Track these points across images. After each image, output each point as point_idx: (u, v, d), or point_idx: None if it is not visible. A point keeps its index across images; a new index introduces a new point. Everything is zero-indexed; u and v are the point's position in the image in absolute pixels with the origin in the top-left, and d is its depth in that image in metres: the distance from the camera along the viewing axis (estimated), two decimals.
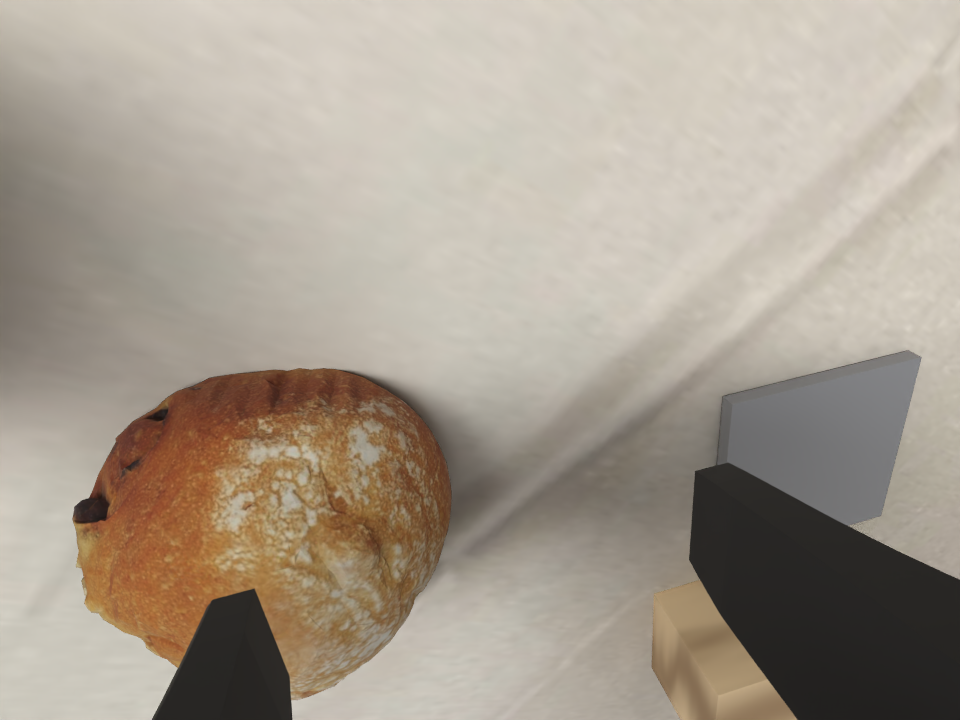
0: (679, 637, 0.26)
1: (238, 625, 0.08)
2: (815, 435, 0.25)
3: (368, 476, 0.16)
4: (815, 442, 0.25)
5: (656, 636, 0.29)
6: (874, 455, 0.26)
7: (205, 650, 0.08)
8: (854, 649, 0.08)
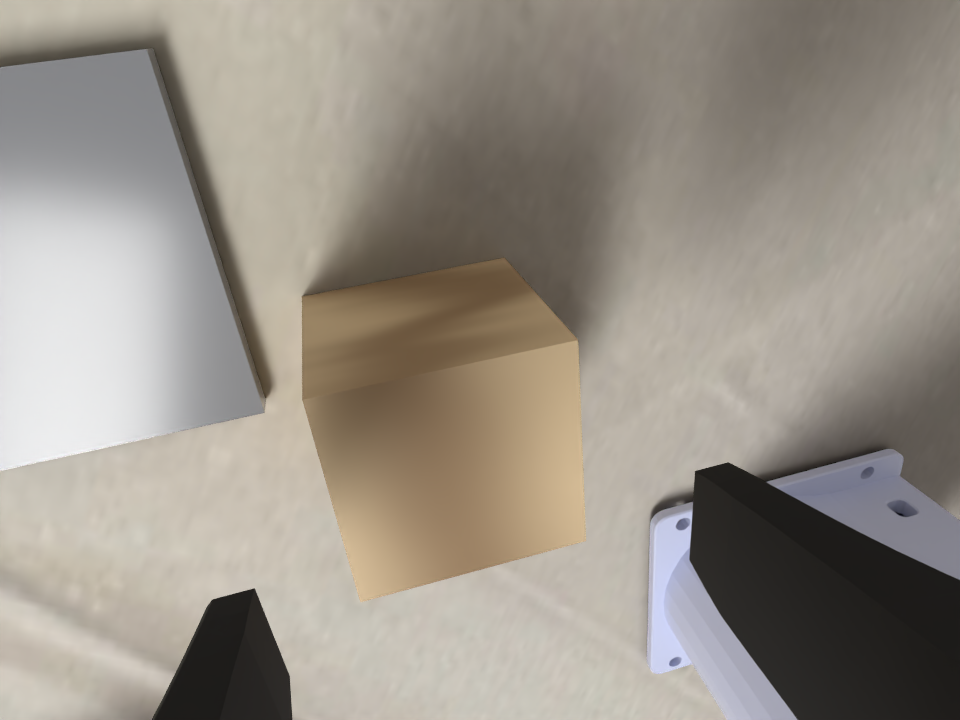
0: None
1: (238, 625, 0.08)
2: None
3: None
4: None
5: None
6: None
7: (205, 650, 0.08)
8: (854, 649, 0.08)
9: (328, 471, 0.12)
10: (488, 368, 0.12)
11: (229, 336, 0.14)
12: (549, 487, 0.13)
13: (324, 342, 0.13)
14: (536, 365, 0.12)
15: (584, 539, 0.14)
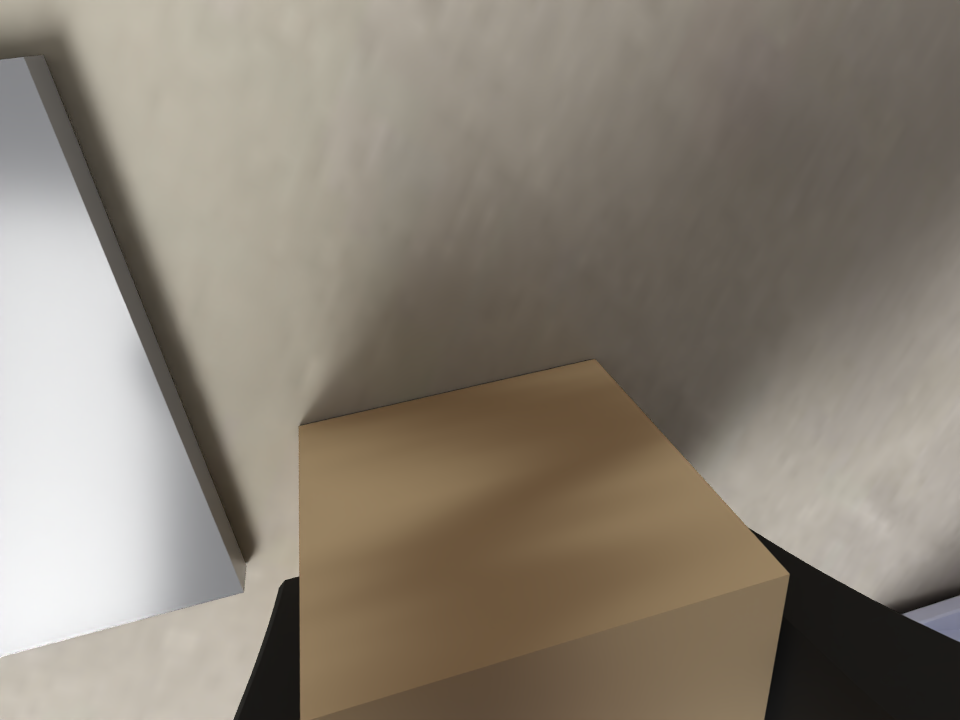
0: None
1: None
2: None
3: None
4: None
5: None
6: None
7: (288, 627, 0.08)
8: (778, 674, 0.08)
9: None
10: (637, 633, 0.06)
11: (187, 495, 0.09)
12: None
13: (337, 547, 0.08)
14: (714, 617, 0.07)
15: None
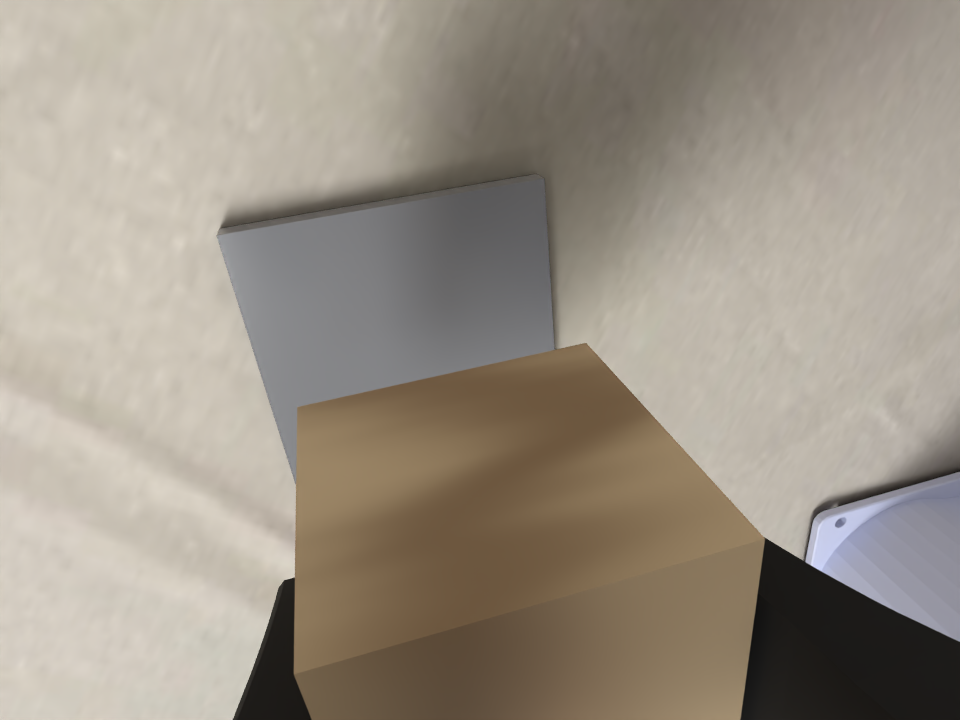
0: None
1: None
2: (358, 369, 0.17)
3: None
4: (371, 364, 0.17)
5: None
6: (408, 248, 0.16)
7: (287, 627, 0.08)
8: (779, 674, 0.08)
9: None
10: (616, 593, 0.07)
11: None
12: None
13: (332, 516, 0.08)
14: (691, 582, 0.07)
15: None
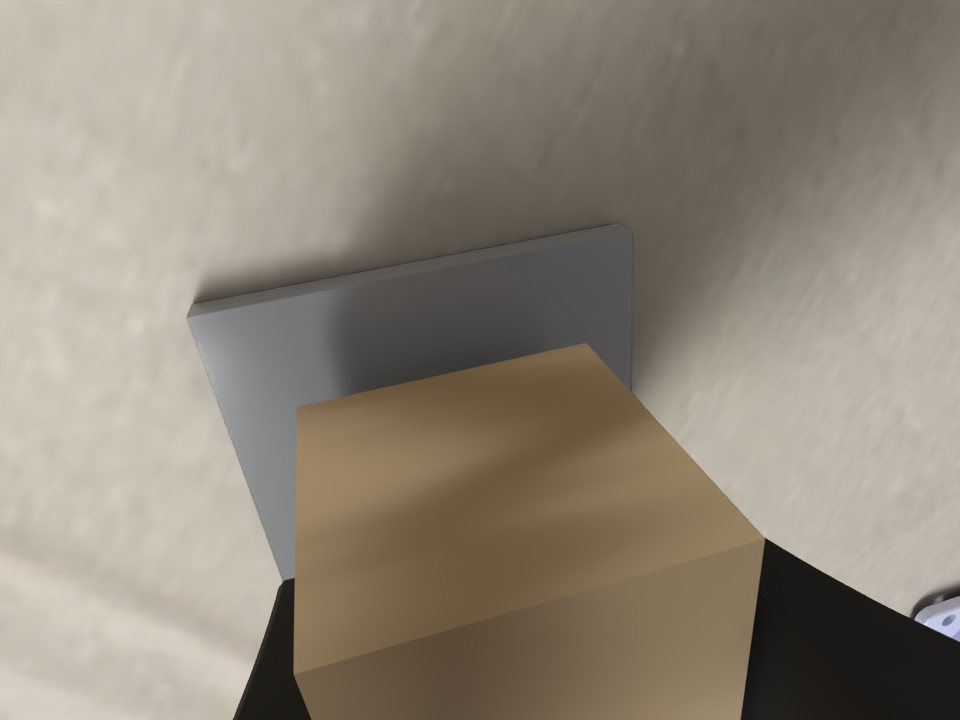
0: None
1: None
2: None
3: None
4: None
5: None
6: (448, 326, 0.12)
7: (287, 627, 0.08)
8: (779, 674, 0.08)
9: None
10: (616, 594, 0.07)
11: None
12: None
13: (331, 515, 0.08)
14: (692, 581, 0.07)
15: None
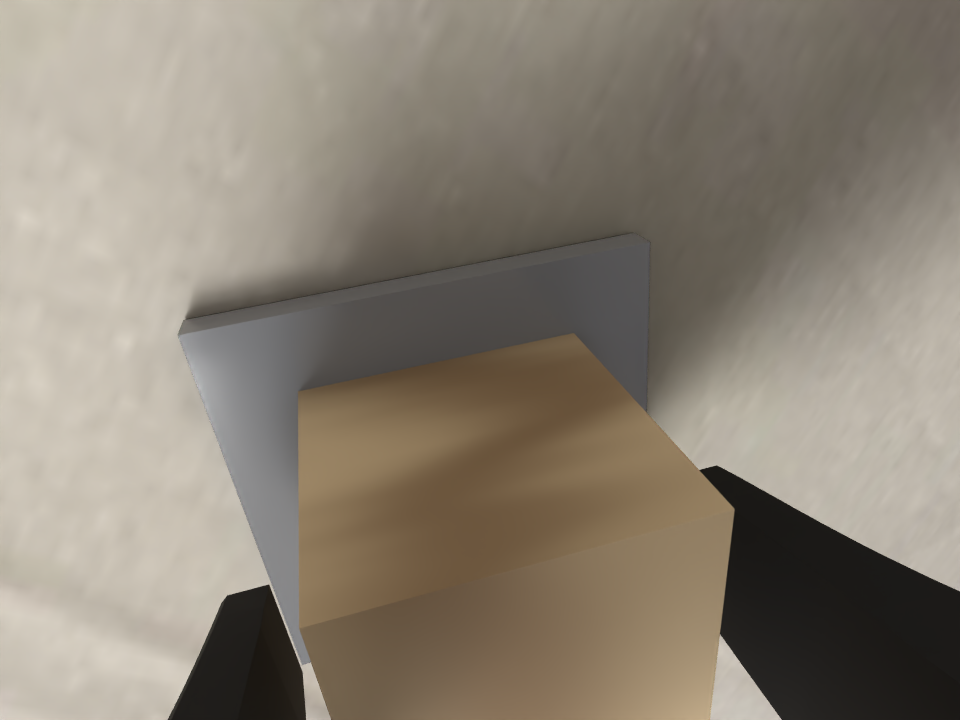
0: None
1: (254, 620, 0.08)
2: None
3: None
4: None
5: None
6: (456, 342, 0.11)
7: (222, 645, 0.08)
8: (839, 654, 0.08)
9: (339, 717, 0.07)
10: (596, 558, 0.07)
11: None
12: (665, 701, 0.09)
13: (332, 490, 0.08)
14: (667, 548, 0.07)
15: None
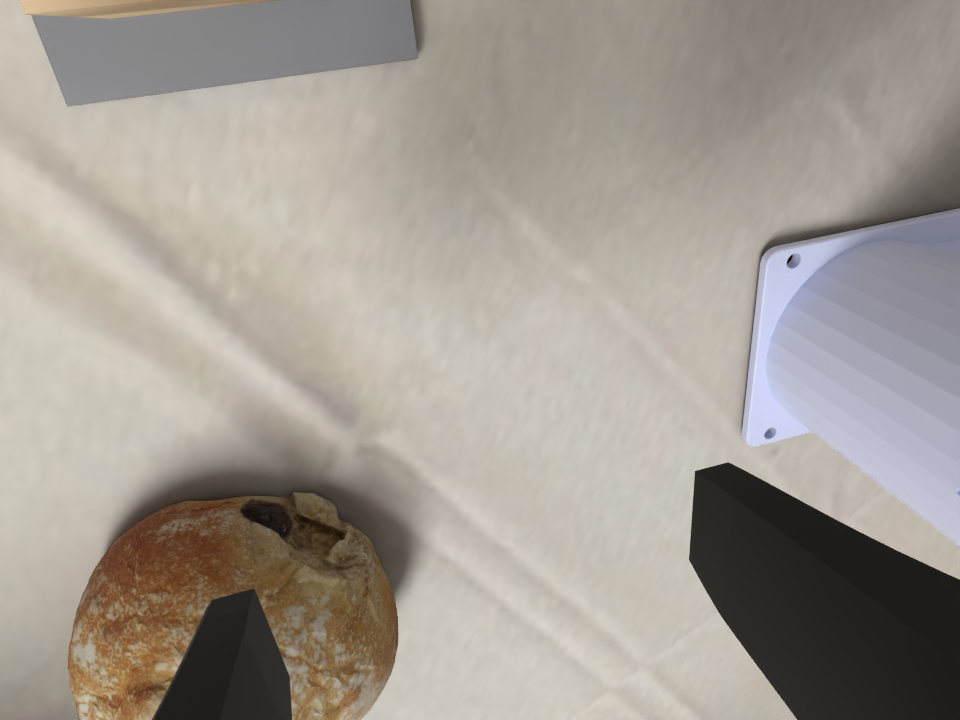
0: (91, 16, 0.12)
1: (238, 625, 0.08)
2: None
3: (101, 666, 0.17)
4: None
5: (222, 5, 0.14)
6: None
7: (205, 650, 0.08)
8: (854, 649, 0.08)
9: None
10: None
11: None
12: None
13: None
14: None
15: None
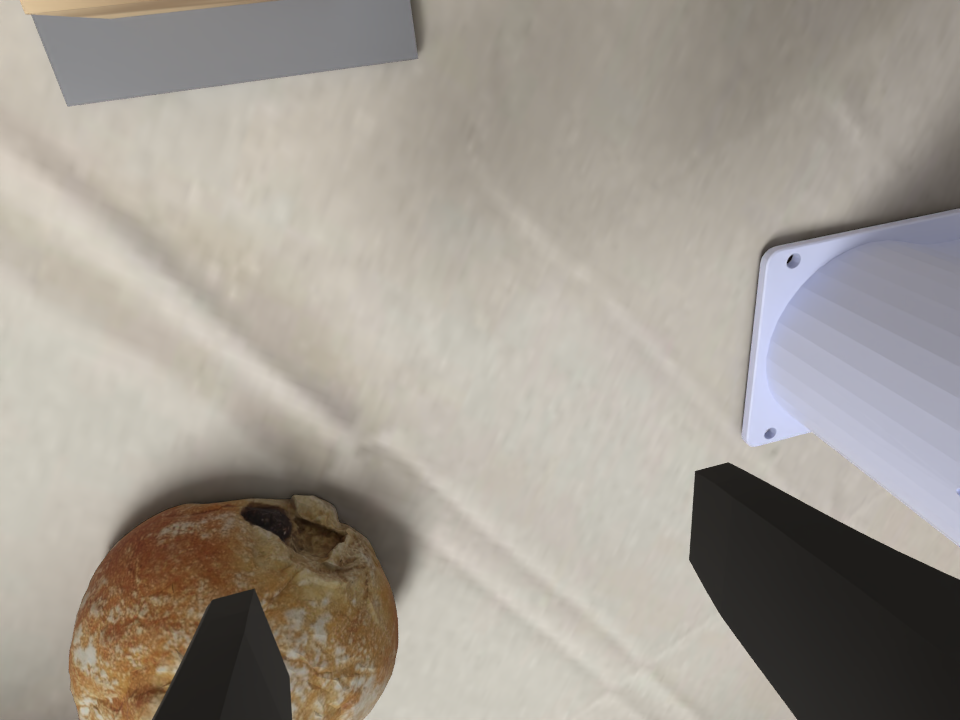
0: (91, 15, 0.12)
1: (238, 625, 0.08)
2: None
3: (102, 669, 0.17)
4: None
5: (222, 5, 0.14)
6: None
7: (205, 650, 0.08)
8: (854, 649, 0.08)
9: None
10: None
11: None
12: None
13: None
14: None
15: None
